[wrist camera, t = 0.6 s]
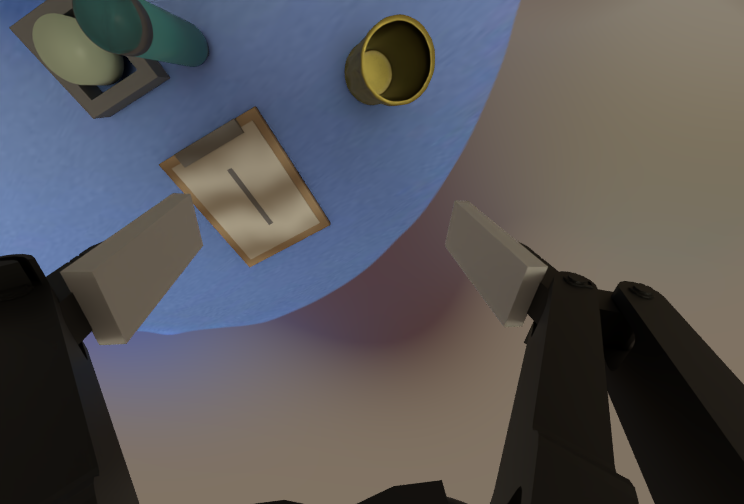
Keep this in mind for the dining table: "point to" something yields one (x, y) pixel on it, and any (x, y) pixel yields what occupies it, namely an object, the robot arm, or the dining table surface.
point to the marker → (140, 31)
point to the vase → (391, 63)
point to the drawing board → (247, 188)
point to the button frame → (91, 95)
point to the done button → (74, 52)
